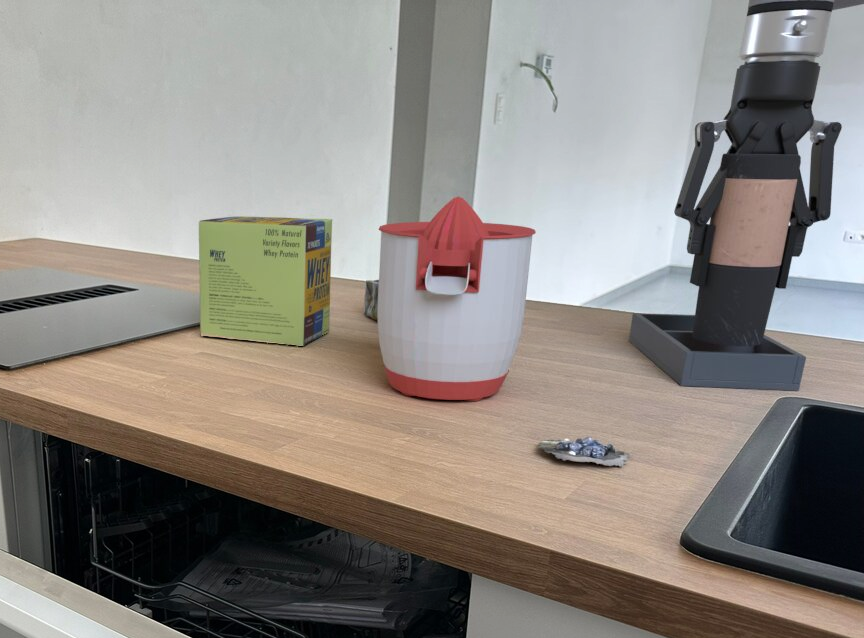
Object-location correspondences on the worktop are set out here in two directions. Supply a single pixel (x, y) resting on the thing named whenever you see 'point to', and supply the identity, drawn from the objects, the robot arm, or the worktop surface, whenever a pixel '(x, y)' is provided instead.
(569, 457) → the blueberries
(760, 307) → the travel mug
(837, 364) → the worktop surface
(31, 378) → the worktop surface
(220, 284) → the protein box
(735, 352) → the grey divided tray
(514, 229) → the citrus juicer
